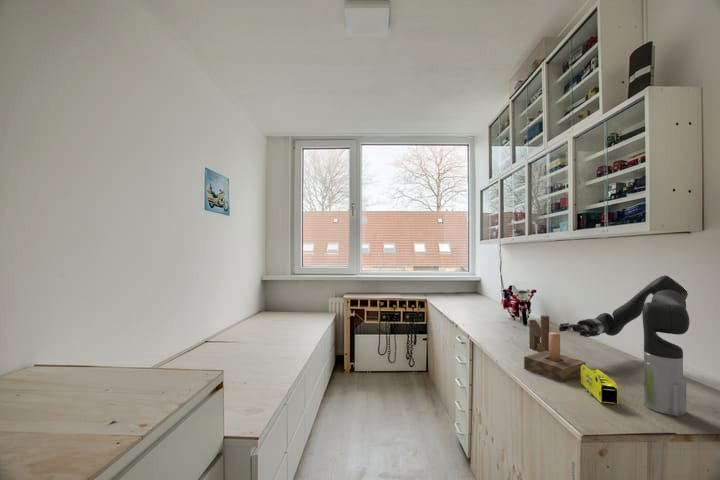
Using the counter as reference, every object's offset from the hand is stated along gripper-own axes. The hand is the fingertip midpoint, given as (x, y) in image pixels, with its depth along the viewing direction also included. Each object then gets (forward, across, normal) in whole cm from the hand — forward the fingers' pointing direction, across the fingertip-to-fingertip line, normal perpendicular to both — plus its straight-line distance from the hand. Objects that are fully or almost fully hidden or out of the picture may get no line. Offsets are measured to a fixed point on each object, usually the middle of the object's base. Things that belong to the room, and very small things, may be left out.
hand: (570, 331), depth 142 cm
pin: (+13, 0, -14) cm, 19 cm away
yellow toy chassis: (+21, -20, -16) cm, 33 cm away
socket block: (+13, 0, -15) cm, 20 cm away
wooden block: (-8, +19, -15) cm, 25 cm away
